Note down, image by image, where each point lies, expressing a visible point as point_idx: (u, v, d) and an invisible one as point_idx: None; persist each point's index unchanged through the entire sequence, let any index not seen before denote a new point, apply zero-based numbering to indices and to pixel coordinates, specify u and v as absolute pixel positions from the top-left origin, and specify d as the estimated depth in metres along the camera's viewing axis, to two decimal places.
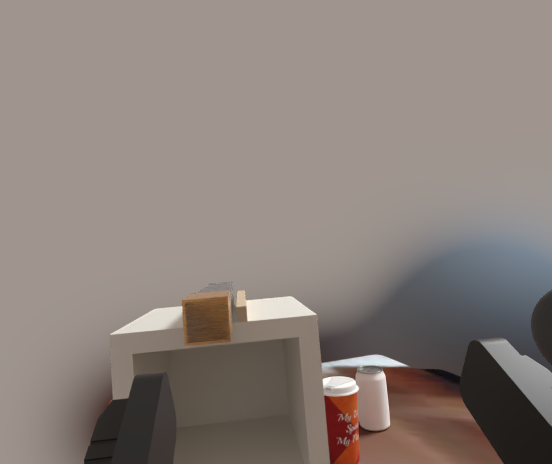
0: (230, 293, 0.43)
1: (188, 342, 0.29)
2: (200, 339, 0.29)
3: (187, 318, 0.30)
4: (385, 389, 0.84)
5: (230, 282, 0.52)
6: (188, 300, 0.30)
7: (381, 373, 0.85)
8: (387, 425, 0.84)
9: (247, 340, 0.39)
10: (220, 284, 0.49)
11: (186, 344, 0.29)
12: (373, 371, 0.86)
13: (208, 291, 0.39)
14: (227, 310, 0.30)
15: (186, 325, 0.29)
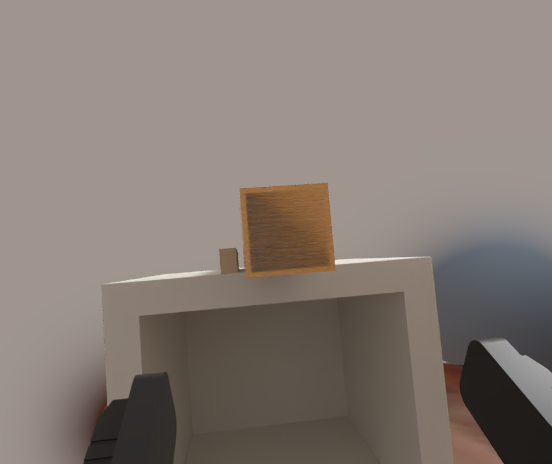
0: None
1: (253, 270, 0.15)
2: (276, 265, 0.15)
3: (251, 223, 0.15)
4: None
5: None
6: (252, 189, 0.15)
7: None
8: None
9: (323, 295, 0.24)
10: None
11: (249, 274, 0.15)
12: None
13: None
14: (328, 210, 0.15)
15: (249, 237, 0.15)
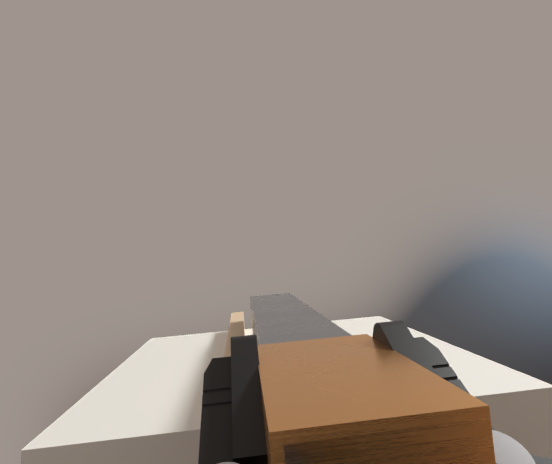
0: None
1: None
2: None
3: None
4: None
5: (289, 295, 0.28)
6: (301, 431, 0.06)
7: None
8: None
9: None
10: (276, 300, 0.26)
11: None
12: None
13: (283, 328, 0.15)
14: None
15: None
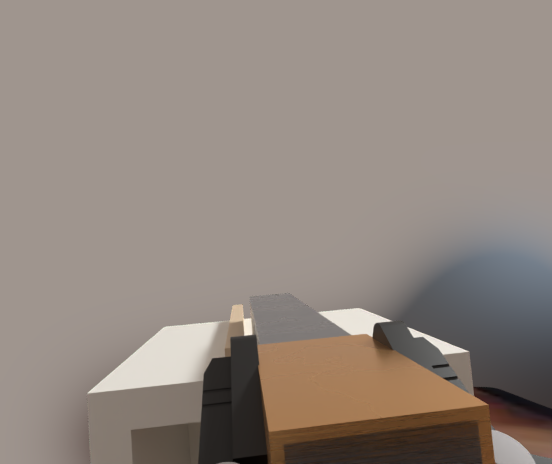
0: None
1: None
2: None
3: None
4: None
5: (289, 295, 0.28)
6: (301, 430, 0.06)
7: None
8: None
9: None
10: (276, 300, 0.26)
11: None
12: None
13: (282, 328, 0.15)
14: None
15: None
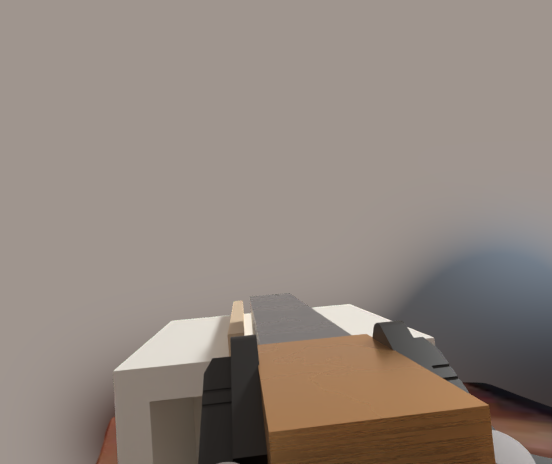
0: None
1: None
2: None
3: None
4: None
5: (289, 295, 0.28)
6: (301, 431, 0.06)
7: None
8: None
9: None
10: (276, 300, 0.26)
11: None
12: None
13: (283, 328, 0.15)
14: None
15: None
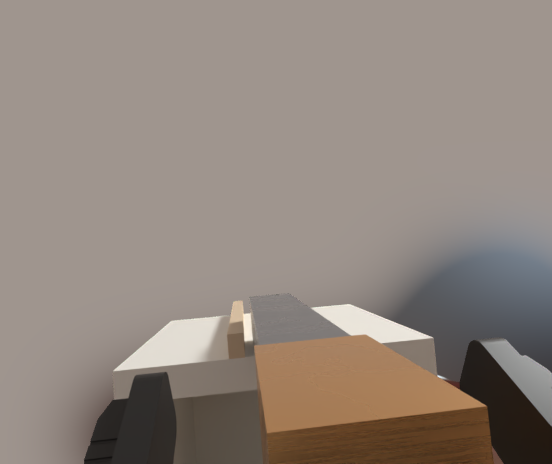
0: None
1: None
2: None
3: None
4: None
5: (289, 295, 0.28)
6: (299, 432, 0.06)
7: None
8: None
9: None
10: (275, 300, 0.26)
11: None
12: None
13: (282, 328, 0.15)
14: None
15: None
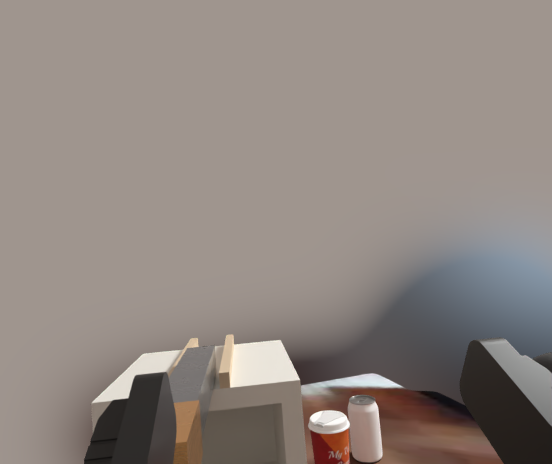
0: (206, 380, 0.33)
1: None
2: None
3: None
4: (377, 420, 0.84)
5: (212, 348, 0.42)
6: None
7: (373, 404, 0.85)
8: (379, 457, 0.83)
9: (230, 407, 0.39)
10: (198, 355, 0.39)
11: None
12: (365, 402, 0.86)
13: (174, 389, 0.29)
14: (186, 463, 0.20)
15: None
